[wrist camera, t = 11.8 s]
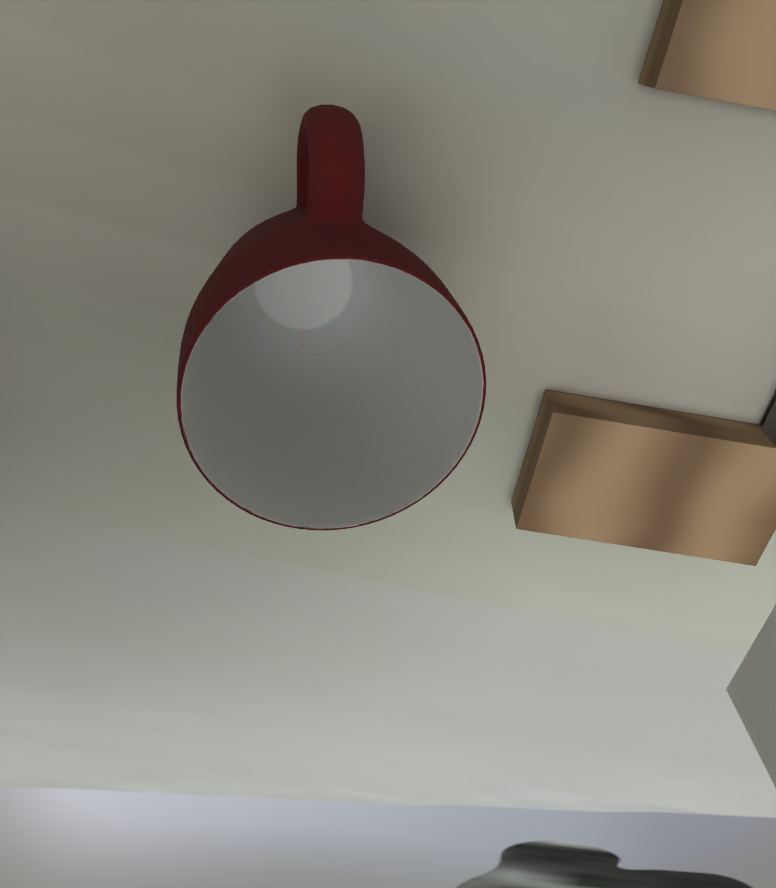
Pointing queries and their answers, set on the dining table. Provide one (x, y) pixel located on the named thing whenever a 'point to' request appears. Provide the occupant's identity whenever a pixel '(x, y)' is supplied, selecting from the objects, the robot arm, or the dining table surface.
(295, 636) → the dining table surface
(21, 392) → the dining table surface
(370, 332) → the mug
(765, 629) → the robot arm
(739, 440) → the wooden stand
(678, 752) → the dining table surface
